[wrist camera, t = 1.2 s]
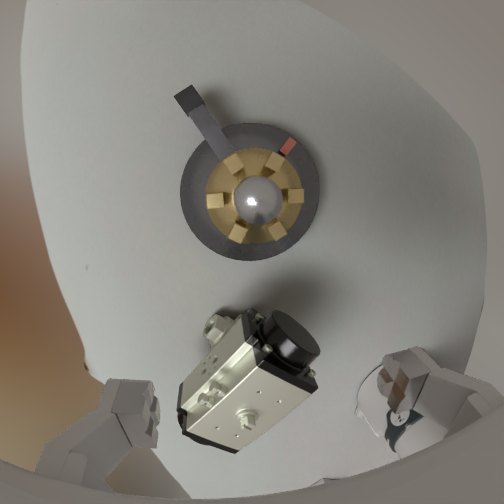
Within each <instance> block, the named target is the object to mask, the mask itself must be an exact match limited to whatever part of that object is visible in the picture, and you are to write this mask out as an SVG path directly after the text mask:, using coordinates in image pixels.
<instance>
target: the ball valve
mask: <svg viewBox="0 0 504 504" xmlns="http://www.w3.org/2000/svg"><path fill="white" fill-rule="evenodd" d="M203 336H204V337H206V338H207V339H209V345H211V352H210V353H209V354H208V355H207V356H206V357H205V358H204V359H203V360H202V362H201V363H200V364H199V365H198V366H197V367H196V368H195V369H194V370H193V371H192V372H191V373H190V375H189V376H188V377H187V378H186V379H185V380H184V381H183V382H182V383H181V384H180V386H179V394H178V403H177V412H178V422H179V424H180V426H181V428H182V434H183V435H185V436H187V437H190V438H191V439H192V440H194V441H195V442H197V443H200V444H203V445H210V446H213V447H216V448H219V449H222V450H224V451H227V452H230V453H233V454H235V453H237V452H238V451H240V450H241V449H243V448H244V447H245V446H247V445H248V444H250V443H251V442H252V441H254V440H255V439H257V438H258V437H259V436H261V435H262V434H263V433H265V432H266V431H267V430H269V429H270V428H271V427H272V426H274V425H275V424H276V423H278V422H279V421H280V420H281V419H283V418H284V417H285V416H286V415H288V414H289V413H290V412H291V411H292V410H294V409H295V408H296V407H297V406H298V405H300V404H301V403H302V402H303V401H304V400H305V399H307V398H308V397H309V396H310V395H311V394H312V393H313V392H315V391H316V390H317V389H318V386H317V383H316V381H315V379H314V376H315V375H316V372H315V371H314V370H313V369H310V367H309V365H310V364H311V363H312V362H313V361H314V360H315V359H316V358H317V357H318V356H319V355H320V348H319V346H318V344H317V342H316V341H315V339H314V338H313V337H312V336H311V335H310V333H309V332H308V331H307V330H306V329H305V328H304V327H303V326H302V325H300V324H299V323H298V322H297V321H296V320H294V319H293V318H292V317H290V316H289V315H287V314H285V313H283V312H281V311H277V310H274V311H272V312H271V313H270V315H269V316H268V317H267V318H266V317H264V316H262V315H261V314H260V313H258V312H256V311H255V310H253V309H251V310H249V311H247V312H246V313H245V314H244V315H243V314H240V315H239V316H238V317H237V318H236V319H235V320H233V319H231V318H230V317H228V316H225V317H224V318H223V317H221V316H220V315H217V314H215V315H214V316H212V317H211V318H210V320H209V321H208V322H207V324H206V326H205V328H204V330H203Z"/></svg>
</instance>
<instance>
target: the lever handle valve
mask: <svg viewBox="0 0 504 504" xmlns="http://www.w3.org/2000/svg"><path fill="white" fill-rule="evenodd" d="M174 98H175V99H176V100H177V102H178V103H179V105H180V106H181V108H182V109H183V111H184V112H185V113H186V115H187V116H188V117H189V116H190V117H191V119H192V120H193V122H194V123H195V125H196V126H197V127H198V129H199V130H200V132H201V133H202V135H203V136H204V138H205V139H206V141H207V142H208V144H209V145H210V146H211V148H212V149H213V151H214V152H215V154H216V155H217V157H218V158H219V160H220V161H221V162H219V163H218V165H217V166H216V167H215V168H214V170H213V171H212V173H211V175H210V177H209V180H208V183H207V186H206V193H205V200H206V207H207V210H208V213H209V216H210V218H211V220H212V221H213V223H214V224H215V226H216V227H217V228H218V229H219V230H220V231H221V232H222V233H223V234H224V235H226V236H227V237H228V238H229V239H231V240H233V241H236V242H238V243H240V244H241V243H246V244H260V243H265V242H269V241H272V240H274V239H275V241H277V240H278V239H280V238H282V237H283V236H285V235H286V234H287V232H286V231H287V230H288V229H289V228H290V227H291V226H292V225H293V223H294V222H295V220H296V219H297V217H298V214H299V212H300V209H301V205H302V203H304V189H302V186H301V182H300V179H299V176H298V174H297V172H296V170H295V169H294V168H293V166H292V165H291V164H290V163H289V162H288V161H287V160H286V159H285V158H284V157H282V156H281V155H279V154H278V153H275V152H273V151H271V150H267V149H263V148H246V149H242V150H238V151H236V152H235V150H234V149H233V147H232V146H231V144H230V143H229V141H228V140H227V138H226V137H225V135H224V134H223V132H222V131H221V129H220V128H219V126H218V125H217V123H216V122H215V121H214V119H213V118H212V116H211V115H210V113H209V112H208V110H207V109H206V108H205V103H204V101H203V100H202V98H201V97H200V95H199V94H198V92H197V91H196V90H195V88H194V87H193V85H190V86H189V87H187V88H185V89H184V90H182V91H181V92H179V93H178V94H176V95H175V96H174ZM252 175H258V176H262V177H265V178H268V179H270V180H272V181H274V182H275V183H276V184H277V185H278V186H279V188H280V190H281V192H282V196H283V205H282V209H281V211H280V213H279V214H278V216H277V217H276V218H275V219H273V220H272V221H270V222H268V223H266V224H260V225H257V224H252V223H249V222H247V221H245V220H244V219H243V218H242V217H241V216H240V215H239V214H238V212H237V210H236V207H235V204H234V200H233V194H234V190H235V188H236V186H237V184H238V183H239V182H240V181H241V180H242V179H244V178H246V177H248V176H252Z"/></svg>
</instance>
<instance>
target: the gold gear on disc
mask: <svg viewBox="0 0 504 504" xmlns="http://www.w3.org/2000/svg"><path fill="white" fill-rule="evenodd" d="M221 131H222V132H223V134H224V135H225V137H226V138H227V140H228V141H229V143H230V144H231V146H232V147H233V149H234V150H235V152H236V151H238V150H242V149H246V148H263V149H267V150H271V151H273V152H275V153H278V154H279V155H281V156H282V157H284V158H285V159H286V160H287V161H288V162H289V163H290V164H291V165H292V166H293V168H294V169H295V170H296V172H297V174H298V176H299V179H300V182H301V186H302V189H304V203H302V205H301V209H300V212H299V214H298V217H297V219H296V220H295V222H294V223H293V225H292V226H291V227H290V228H289V229H288V230H287V231H286V232H287V234H286V235H285V236H283V237H282V238H280V239H278V240H277V241H275V239H274V240H272V241H269V242H265V243H260V244H246V243H241V244H240V243H238V242H236V241H233V240H231V239H229V238H228V237H227V236H226V235H224V234H223V233H222V232H221V231H220V230H219V229H218V228H217V227H216V226H215V224H214V223H213V221H212V220H211V218H210V216H209V213H208V210H207V207H206V200H205V193H206V186H207V183H208V180H209V177H210V175H211V173H212V171H213V170H214V168H215V167H216V166H217V165H218V163H219V162H221V161H220V160H219V158H218V157H217V155H216V154H215V152H214V151H213V149H212V148H211V146H210V145H209V144H208V142H207V141H206V139H205V140H204V141H203V142H202V143H201V144H200V145H199V146H198V147H197V148H196V150H195V151H194V152H193V154H192V155H191V157H190V158H189V160H188V162H187V164H186V166H185V169H184V172H183V175H182V180H181V186H180V198H181V206H182V210H183V214H184V216H185V219H186V221H187V223H188V225H189V227H190V229H191V230H192V232H193V233H194V234H195V236H196V237H197V238H198V239H199V240H200V241H201V242H202V243H203V244H204V245H205V246H207V247H208V248H209V249H211V250H213V251H214V252H216V253H218V254H220V255H222V256H225V257H228V258H231V259H235V260H242V261H255V260H262V259H267V258H270V257H273V256H276V255H278V254H280V253H282V252H284V251H286V250H287V249H289V248H290V247H292V246H293V245H294V244H295V243H296V242H297V241H299V240H300V238H301V237H302V236H303V235H304V234H305V232H306V231H307V230H308V228H309V227H310V225H311V223H312V221H313V219H314V216H315V214H316V211H317V206H318V202H319V181H318V176H317V172H316V169H315V166H314V164H313V162H312V160H311V158H310V156H309V155H308V153H307V152H306V150H305V149H304V148H303V147H302V145H301V144H300V143H299V142H297V141H296V140H295V139H294V138H293V137H291V136H290V135H289V134H287V133H285V132H283V131H282V130H280V129H277V128H275V127H272V126H268V125H264V124H257V123H244V124H237V125H232V126H229V127H226V128H223V129H221ZM233 200H234V204H235V207H236V210H237V212H238V214H239V215H240V216H241V217H242V218H243V219H244V220H245V221H247V222H249V223H252V224H257V225H260V224H266V223H268V222H270V221H272V220H273V219H275V218H276V217H277V216H278V214H279V213H280V211H281V209H282V205H283V196H282V192H281V190H280V188H279V186H278V185H277V184H276V183H275V182H274V181H272V180H270V179H268V178H265V177H262V176H258V175H252V176H248V177H246V178H244V179H242V180H241V181H240V182H239V183H238V184H237V186H236V188H235V190H234V194H233Z"/></svg>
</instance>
